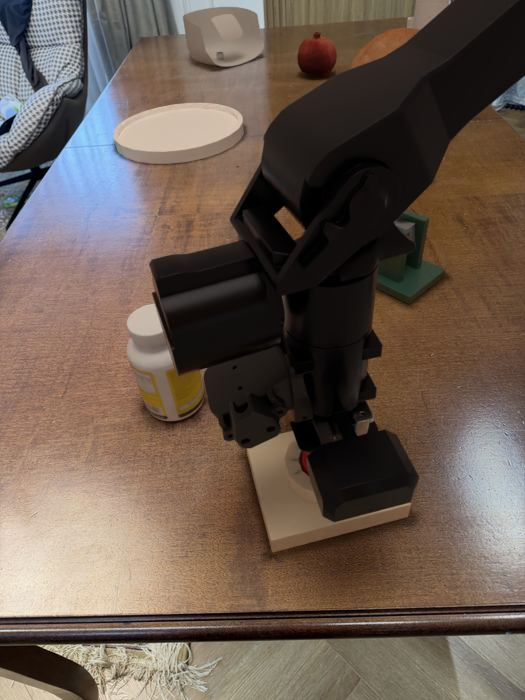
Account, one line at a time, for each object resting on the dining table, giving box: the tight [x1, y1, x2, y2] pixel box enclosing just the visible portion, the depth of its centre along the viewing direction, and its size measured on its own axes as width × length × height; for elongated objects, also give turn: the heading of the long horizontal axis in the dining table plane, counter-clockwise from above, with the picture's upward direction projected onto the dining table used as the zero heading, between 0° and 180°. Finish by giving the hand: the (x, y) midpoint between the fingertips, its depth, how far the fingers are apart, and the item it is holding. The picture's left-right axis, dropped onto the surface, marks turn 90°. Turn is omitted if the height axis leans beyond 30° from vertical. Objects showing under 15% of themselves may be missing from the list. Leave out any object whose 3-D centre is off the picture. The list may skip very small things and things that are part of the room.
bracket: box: [376, 209, 447, 305], centre depth 65 cm, size 10×8×8 cm
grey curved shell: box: [182, 6, 265, 67], centre depth 149 cm, size 20×19×12 cm
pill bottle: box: [126, 303, 206, 422], centre depth 50 cm, size 6×6×12 cm
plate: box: [112, 102, 245, 165], centre depth 109 cm, size 28×28×2 cm
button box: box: [245, 430, 412, 553], centre depth 44 cm, size 10×12×4 cm
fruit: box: [296, 31, 338, 77], centre depth 131 cm, size 11×10×10 cm
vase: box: [406, 0, 450, 30], centre depth 111 cm, size 11×7×20 cm, turn 0°
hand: (323, 457), depth 43 cm, fingers closed, pressing on button
